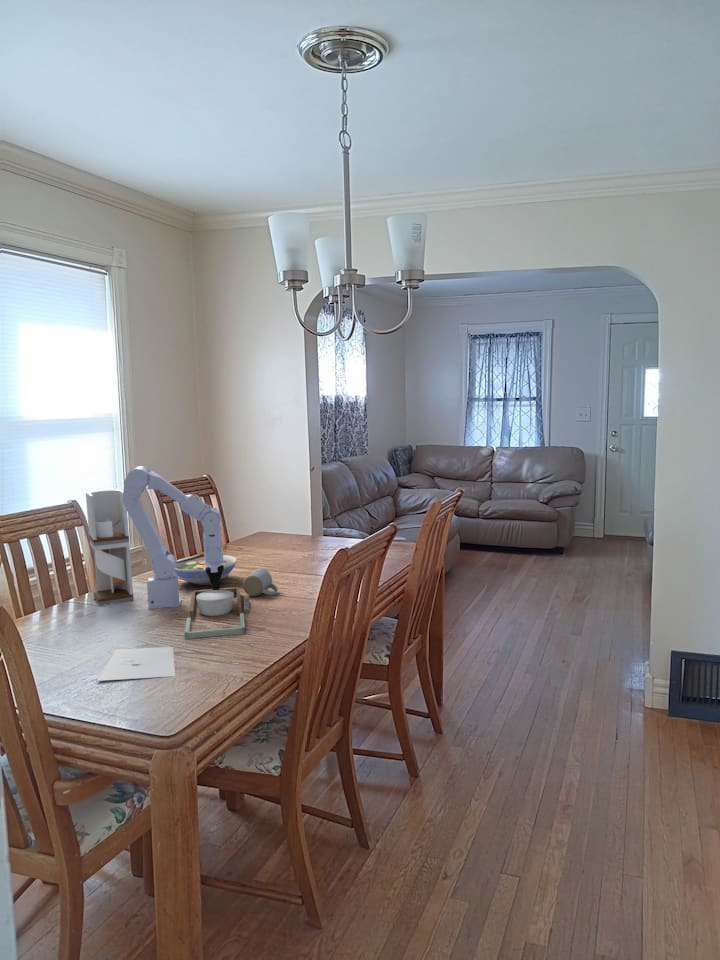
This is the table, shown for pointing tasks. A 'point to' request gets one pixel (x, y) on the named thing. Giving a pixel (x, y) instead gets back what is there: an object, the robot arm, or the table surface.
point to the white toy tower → (110, 546)
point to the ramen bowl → (200, 569)
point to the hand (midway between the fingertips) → (215, 589)
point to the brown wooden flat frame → (194, 593)
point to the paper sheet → (139, 664)
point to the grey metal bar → (246, 605)
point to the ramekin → (215, 602)
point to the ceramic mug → (259, 583)
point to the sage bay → (214, 632)
